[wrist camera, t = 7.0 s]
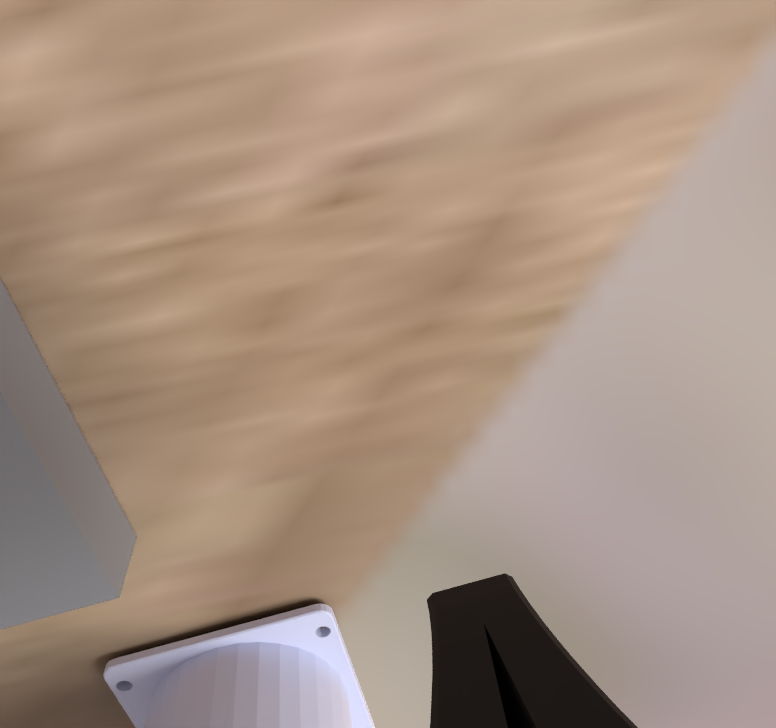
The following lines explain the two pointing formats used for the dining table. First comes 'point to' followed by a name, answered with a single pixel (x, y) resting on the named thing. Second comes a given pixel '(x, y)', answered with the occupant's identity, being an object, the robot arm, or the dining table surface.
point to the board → (50, 494)
